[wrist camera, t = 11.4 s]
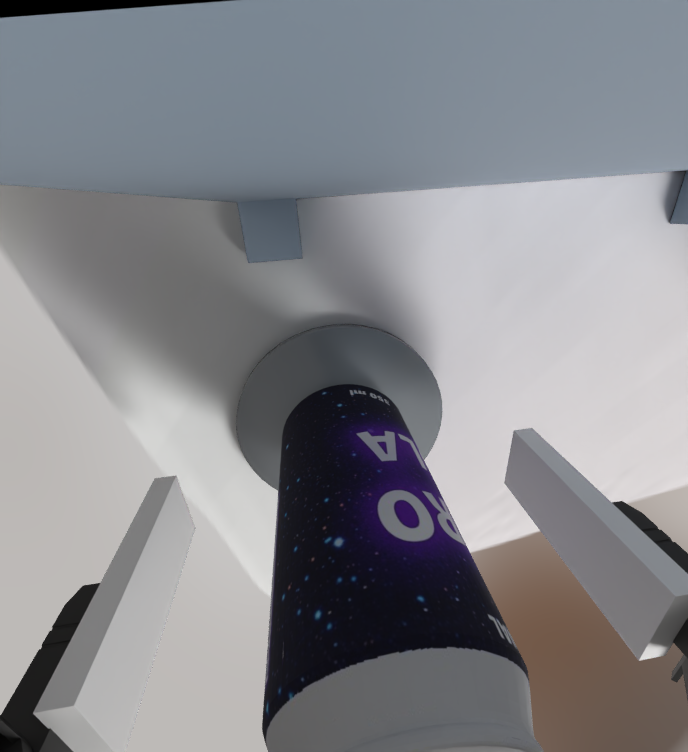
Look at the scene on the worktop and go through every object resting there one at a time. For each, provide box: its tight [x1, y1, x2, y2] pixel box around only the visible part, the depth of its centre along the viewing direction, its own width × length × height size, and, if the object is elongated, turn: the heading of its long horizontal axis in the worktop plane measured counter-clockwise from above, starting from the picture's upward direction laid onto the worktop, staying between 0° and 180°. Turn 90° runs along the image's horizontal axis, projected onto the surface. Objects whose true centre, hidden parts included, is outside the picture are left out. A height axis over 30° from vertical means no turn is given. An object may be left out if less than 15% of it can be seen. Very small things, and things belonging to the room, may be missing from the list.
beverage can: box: [262, 384, 544, 752], centre depth 12 cm, size 6×6×12 cm
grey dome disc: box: [236, 324, 442, 490], centre depth 17 cm, size 10×10×1 cm
